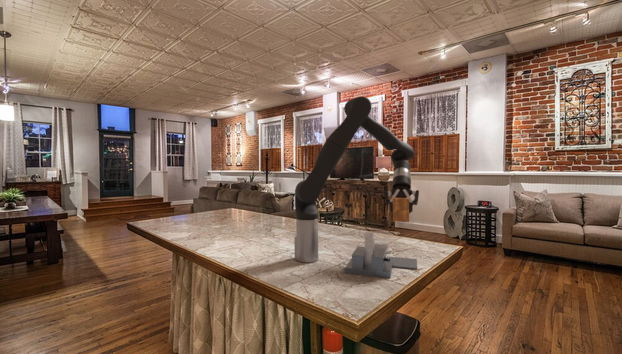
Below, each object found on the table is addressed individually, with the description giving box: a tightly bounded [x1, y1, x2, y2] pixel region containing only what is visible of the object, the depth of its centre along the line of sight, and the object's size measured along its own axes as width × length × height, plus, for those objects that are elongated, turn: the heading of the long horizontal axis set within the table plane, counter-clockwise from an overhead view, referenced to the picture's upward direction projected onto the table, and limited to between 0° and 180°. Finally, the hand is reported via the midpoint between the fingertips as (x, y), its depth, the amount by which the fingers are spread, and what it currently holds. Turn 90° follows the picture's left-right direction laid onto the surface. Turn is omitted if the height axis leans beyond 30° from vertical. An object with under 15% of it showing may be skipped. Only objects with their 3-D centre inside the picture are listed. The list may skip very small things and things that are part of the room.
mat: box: [386, 255, 418, 271], centre depth 116 cm, size 12×12×1 cm
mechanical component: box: [374, 240, 393, 255], centre depth 134 cm, size 10×4×10 cm
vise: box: [344, 231, 394, 279], centre depth 109 cm, size 16×12×14 cm
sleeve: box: [392, 197, 410, 223], centre depth 116 cm, size 6×6×9 cm
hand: (401, 211), depth 114 cm, fingers closed on sleeve, 6 cm apart
